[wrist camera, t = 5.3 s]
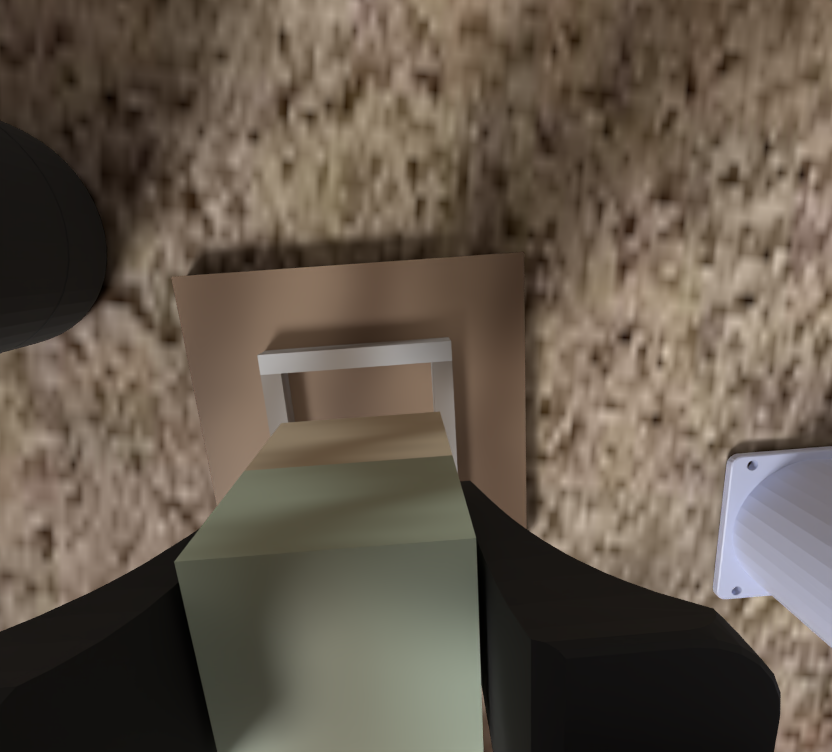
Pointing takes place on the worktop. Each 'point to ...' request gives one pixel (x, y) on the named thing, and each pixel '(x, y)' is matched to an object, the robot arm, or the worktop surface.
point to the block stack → (340, 594)
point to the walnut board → (364, 358)
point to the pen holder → (44, 243)
